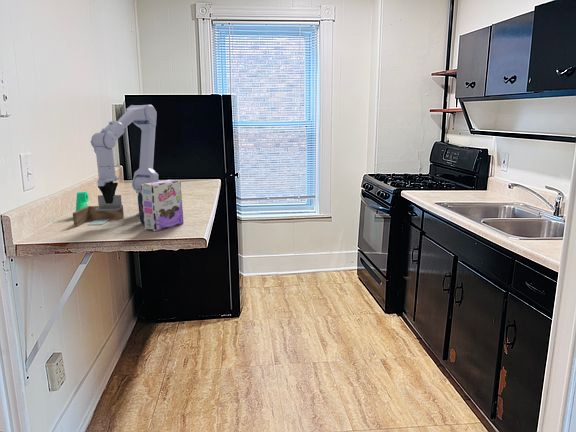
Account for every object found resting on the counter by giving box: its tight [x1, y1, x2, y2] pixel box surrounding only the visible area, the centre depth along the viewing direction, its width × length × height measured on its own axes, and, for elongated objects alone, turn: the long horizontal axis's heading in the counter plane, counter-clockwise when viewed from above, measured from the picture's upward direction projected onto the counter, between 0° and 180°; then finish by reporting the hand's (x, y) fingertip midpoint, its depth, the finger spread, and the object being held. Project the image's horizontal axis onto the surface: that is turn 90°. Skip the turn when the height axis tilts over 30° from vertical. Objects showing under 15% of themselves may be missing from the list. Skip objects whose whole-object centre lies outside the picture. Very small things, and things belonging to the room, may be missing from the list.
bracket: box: [95, 194, 123, 211], centre depth 163 cm, size 8×5×5 cm, turn 93°
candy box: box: [141, 179, 184, 232], centre depth 160 cm, size 14×6×16 cm, turn 148°
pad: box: [87, 219, 111, 226], centre depth 172 cm, size 9×5×1 cm, turn 4°
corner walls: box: [72, 204, 125, 228], centre depth 172 cm, size 14×14×5 cm
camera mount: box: [75, 191, 89, 212], centre depth 184 cm, size 12×8×10 cm, turn 9°
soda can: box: [137, 191, 144, 226], centre depth 167 cm, size 7×7×12 cm
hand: (109, 202), depth 165 cm, fingers closed on bracket
